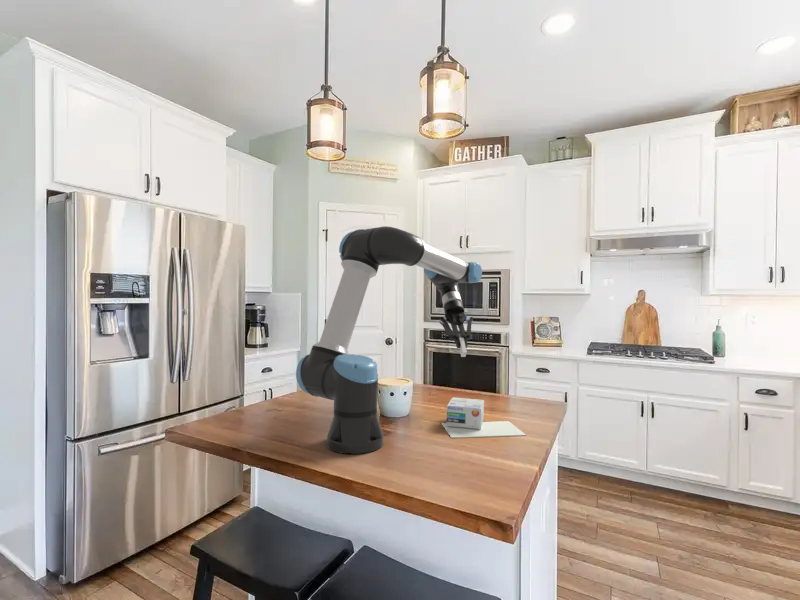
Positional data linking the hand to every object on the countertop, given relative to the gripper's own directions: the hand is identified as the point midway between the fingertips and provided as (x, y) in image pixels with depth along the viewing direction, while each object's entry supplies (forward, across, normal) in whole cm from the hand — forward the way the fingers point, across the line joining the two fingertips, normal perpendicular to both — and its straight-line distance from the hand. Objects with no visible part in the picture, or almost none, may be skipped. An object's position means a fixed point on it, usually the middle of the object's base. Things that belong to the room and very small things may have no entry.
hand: (464, 354), depth 145 cm
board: (+29, 0, +1) cm, 29 cm away
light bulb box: (+18, +1, -4) cm, 19 cm away
